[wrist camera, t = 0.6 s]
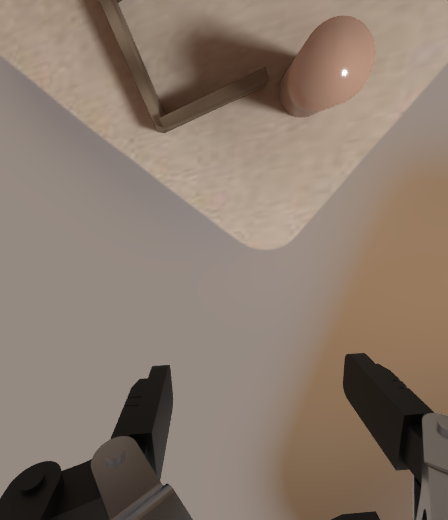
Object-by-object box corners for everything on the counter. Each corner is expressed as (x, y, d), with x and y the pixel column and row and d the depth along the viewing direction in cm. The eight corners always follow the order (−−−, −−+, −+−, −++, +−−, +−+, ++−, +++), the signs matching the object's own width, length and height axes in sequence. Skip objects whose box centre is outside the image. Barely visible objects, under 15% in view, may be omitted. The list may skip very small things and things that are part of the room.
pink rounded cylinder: (273, 73, 30) (290, 37, 20) (322, 50, 29) (367, 0, 19) (287, 125, 32) (310, 116, 22) (334, 105, 31) (380, 86, 21)
